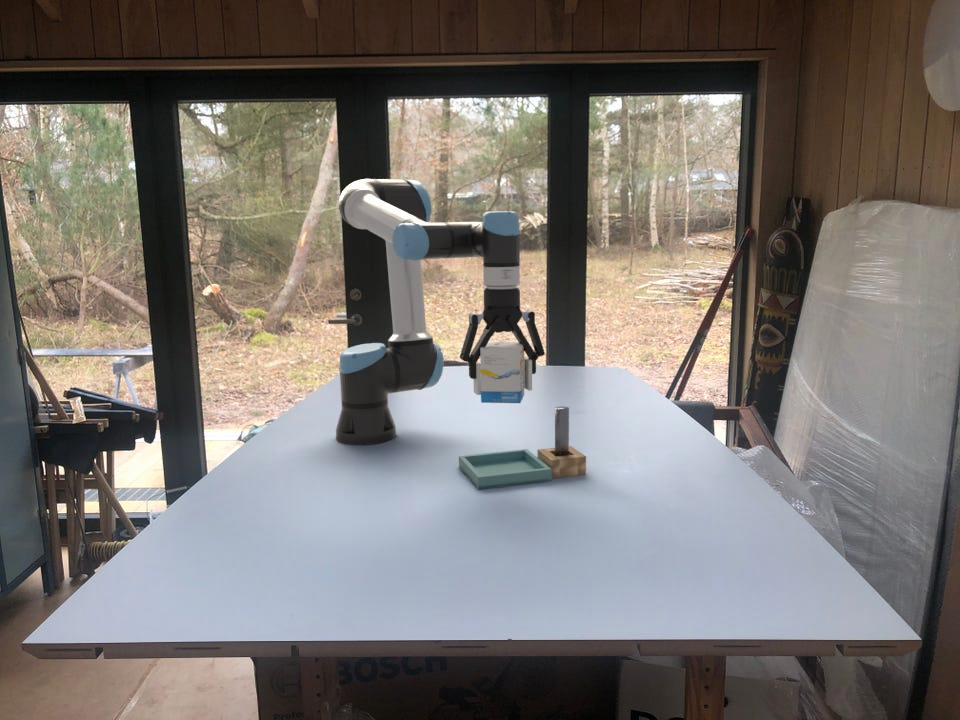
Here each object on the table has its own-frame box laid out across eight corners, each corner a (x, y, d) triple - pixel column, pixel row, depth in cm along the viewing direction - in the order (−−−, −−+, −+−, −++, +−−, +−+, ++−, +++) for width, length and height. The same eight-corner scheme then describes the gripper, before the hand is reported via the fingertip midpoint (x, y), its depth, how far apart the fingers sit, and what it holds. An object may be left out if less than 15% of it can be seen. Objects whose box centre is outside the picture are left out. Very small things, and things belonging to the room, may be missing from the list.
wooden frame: (551, 478, 160) (551, 460, 160) (537, 466, 168) (537, 449, 167) (585, 474, 163) (586, 456, 162) (570, 463, 170) (571, 446, 170)
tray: (478, 489, 154) (478, 477, 154) (459, 467, 169) (458, 456, 168) (551, 480, 159) (551, 469, 158) (526, 459, 173) (526, 448, 173)
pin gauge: (558, 473, 164) (558, 410, 161) (552, 469, 166) (552, 407, 164) (570, 471, 164) (571, 409, 162) (565, 467, 167) (565, 406, 165)
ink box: (520, 403, 156) (520, 347, 154) (480, 403, 158) (478, 347, 155) (525, 394, 164) (524, 341, 162) (486, 393, 166) (485, 341, 164)
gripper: (452, 290, 150) (454, 399, 154) (560, 286, 157) (560, 390, 161) (442, 288, 157) (445, 392, 161) (547, 283, 164) (547, 383, 168)
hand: (503, 391), depth 161 cm, fingers closed on ink box, 11 cm apart
